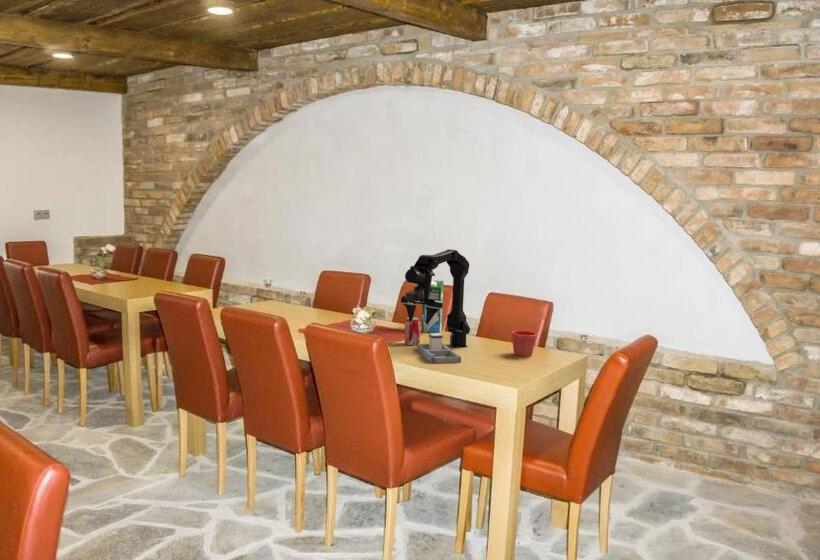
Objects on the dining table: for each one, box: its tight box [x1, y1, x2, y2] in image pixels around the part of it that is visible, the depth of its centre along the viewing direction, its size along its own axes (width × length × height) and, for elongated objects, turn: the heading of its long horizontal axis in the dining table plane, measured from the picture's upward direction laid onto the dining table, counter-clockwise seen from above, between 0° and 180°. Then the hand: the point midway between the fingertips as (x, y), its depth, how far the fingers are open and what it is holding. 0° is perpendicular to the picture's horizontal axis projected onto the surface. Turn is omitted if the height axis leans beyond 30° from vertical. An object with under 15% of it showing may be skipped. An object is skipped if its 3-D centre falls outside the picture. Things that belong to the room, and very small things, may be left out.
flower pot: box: [511, 330, 537, 358], centre depth 301 cm, size 11×11×10 cm
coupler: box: [428, 332, 444, 350], centre depth 301 cm, size 5×5×8 cm
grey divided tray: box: [416, 343, 462, 364], centre depth 296 cm, size 12×26×3 cm, turn 14°
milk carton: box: [420, 280, 444, 334], centre depth 346 cm, size 9×9×25 cm
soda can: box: [404, 316, 422, 346], centre depth 316 cm, size 7×7×12 cm
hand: (418, 322), depth 288 cm, fingers open, 9 cm apart
